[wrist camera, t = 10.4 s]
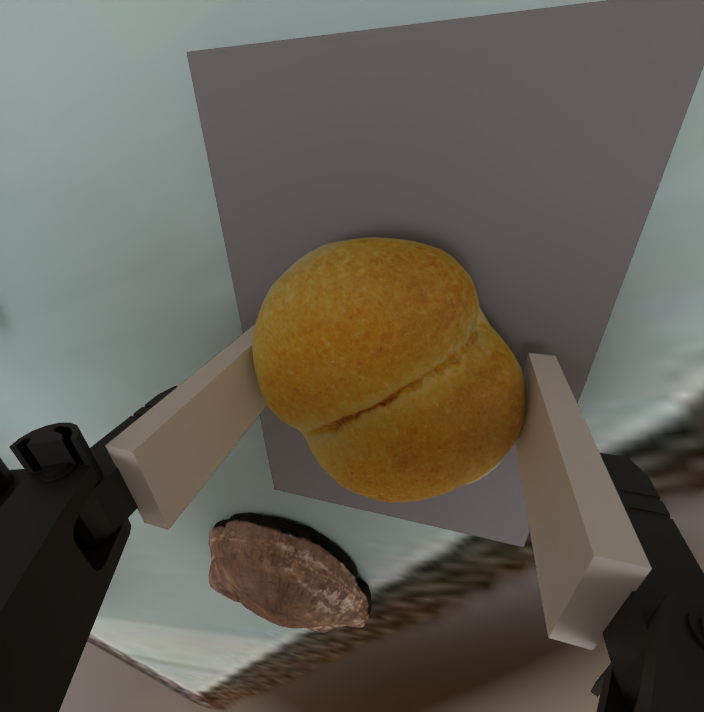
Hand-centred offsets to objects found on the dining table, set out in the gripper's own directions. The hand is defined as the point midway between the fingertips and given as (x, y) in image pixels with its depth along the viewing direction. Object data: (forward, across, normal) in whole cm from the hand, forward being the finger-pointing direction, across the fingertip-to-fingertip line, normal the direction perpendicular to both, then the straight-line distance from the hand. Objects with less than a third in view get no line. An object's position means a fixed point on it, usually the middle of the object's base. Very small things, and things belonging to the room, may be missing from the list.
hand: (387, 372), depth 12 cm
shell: (+3, +7, +19) cm, 21 cm away
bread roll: (+1, 0, 0) cm, 1 cm away
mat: (+2, 0, 0) cm, 2 cm away
